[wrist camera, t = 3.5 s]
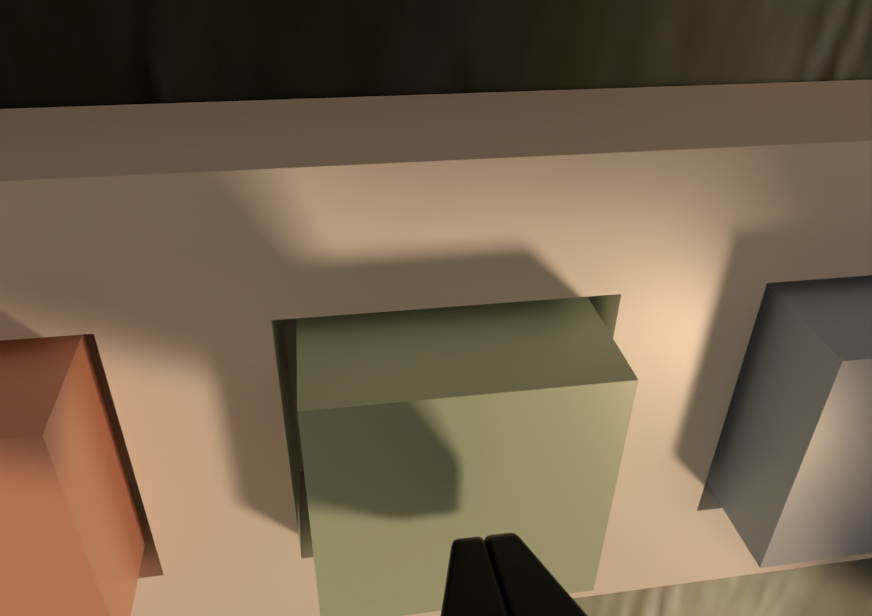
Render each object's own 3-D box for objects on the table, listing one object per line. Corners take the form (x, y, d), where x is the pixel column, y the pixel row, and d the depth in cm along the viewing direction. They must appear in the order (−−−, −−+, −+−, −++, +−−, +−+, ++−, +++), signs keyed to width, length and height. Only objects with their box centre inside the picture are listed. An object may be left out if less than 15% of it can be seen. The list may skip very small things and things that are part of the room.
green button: (586, 295, 11) (638, 380, 9) (555, 493, 13) (593, 589, 12) (296, 315, 10) (297, 411, 9) (317, 520, 13) (321, 626, 11)
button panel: (1047, 73, 12) (1197, 125, 10) (866, 461, 17) (944, 548, 15) (-392, 122, 9) (-580, 208, 7) (-115, 572, 14) (-182, 699, 12)
